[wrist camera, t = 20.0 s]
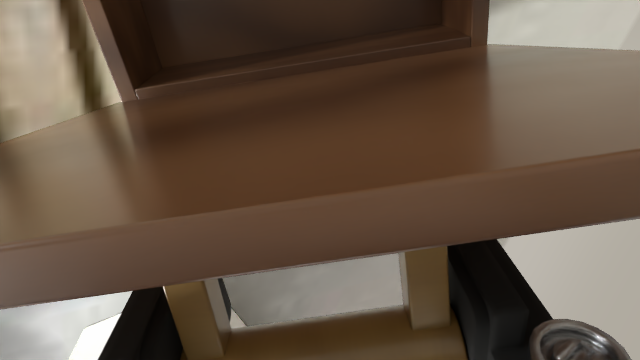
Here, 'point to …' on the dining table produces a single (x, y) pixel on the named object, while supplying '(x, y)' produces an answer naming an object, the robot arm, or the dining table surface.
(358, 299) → the dining table surface
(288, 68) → the chest
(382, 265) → the dining table surface
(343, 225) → the chest lid
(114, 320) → the milk
